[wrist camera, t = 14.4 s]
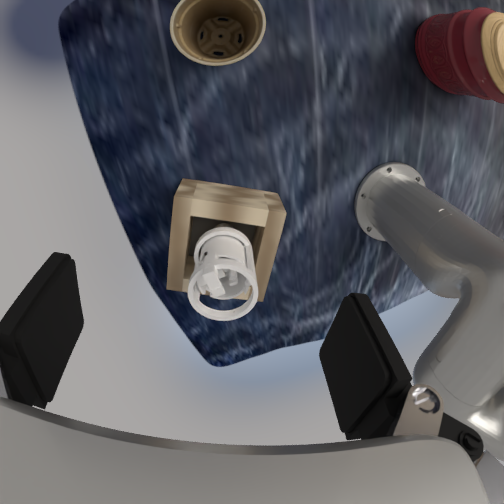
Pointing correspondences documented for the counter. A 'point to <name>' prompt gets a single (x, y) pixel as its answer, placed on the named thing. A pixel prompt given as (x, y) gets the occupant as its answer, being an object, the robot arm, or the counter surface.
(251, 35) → the flower pot
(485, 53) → the canister
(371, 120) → the counter surface
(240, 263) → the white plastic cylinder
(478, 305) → the robot arm
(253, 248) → the beech holder block
